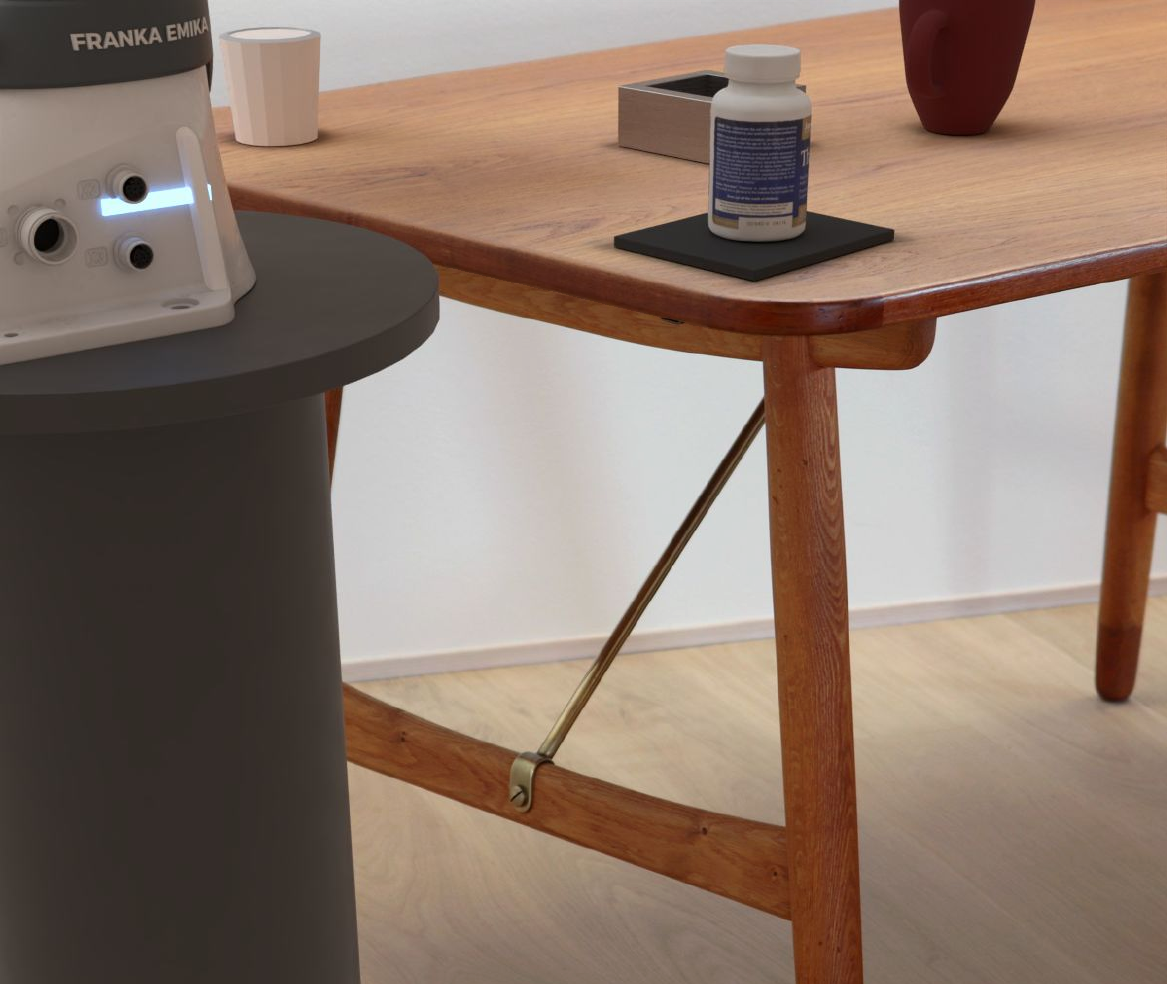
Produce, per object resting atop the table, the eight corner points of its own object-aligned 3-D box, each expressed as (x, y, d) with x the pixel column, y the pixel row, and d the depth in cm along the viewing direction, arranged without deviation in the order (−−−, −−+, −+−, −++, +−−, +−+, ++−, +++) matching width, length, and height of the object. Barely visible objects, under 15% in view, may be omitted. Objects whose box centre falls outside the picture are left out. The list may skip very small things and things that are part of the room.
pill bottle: (819, 241, 101) (828, 55, 97) (723, 247, 100) (728, 59, 96) (788, 218, 105) (796, 40, 101) (696, 223, 104) (700, 43, 100)
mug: (989, 155, 124) (1005, -25, 119) (858, 142, 127) (868, -33, 123) (1038, 123, 133) (1054, -44, 129) (914, 112, 137) (926, -51, 132)
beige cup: (290, 151, 125) (283, 43, 122) (206, 142, 128) (197, 36, 125) (346, 133, 130) (340, 29, 128) (263, 125, 133) (256, 23, 130)
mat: (754, 281, 96) (754, 270, 95) (613, 246, 102) (613, 236, 102) (894, 239, 103) (895, 229, 103) (755, 210, 110) (755, 199, 110)
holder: (716, 165, 121) (718, 102, 119) (617, 145, 126) (617, 85, 125) (803, 145, 127) (806, 85, 125) (704, 127, 132) (706, 69, 131)
